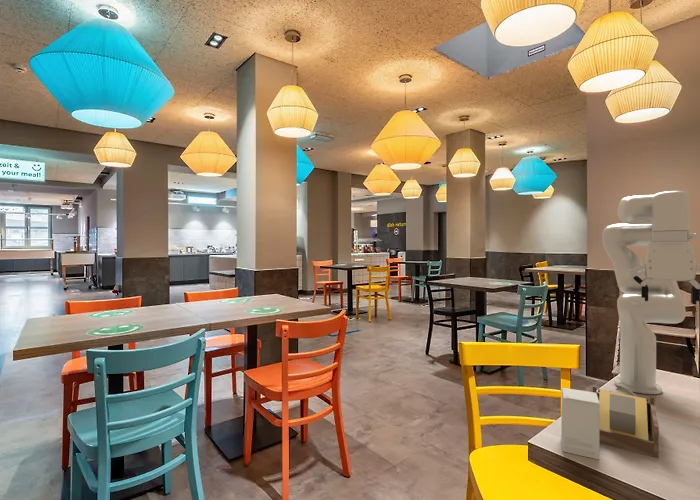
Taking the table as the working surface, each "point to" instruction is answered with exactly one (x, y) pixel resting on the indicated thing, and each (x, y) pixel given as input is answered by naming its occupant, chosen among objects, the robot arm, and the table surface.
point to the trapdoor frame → (633, 442)
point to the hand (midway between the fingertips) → (669, 302)
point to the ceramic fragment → (624, 391)
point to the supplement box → (580, 423)
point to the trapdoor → (640, 409)
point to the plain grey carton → (622, 414)
